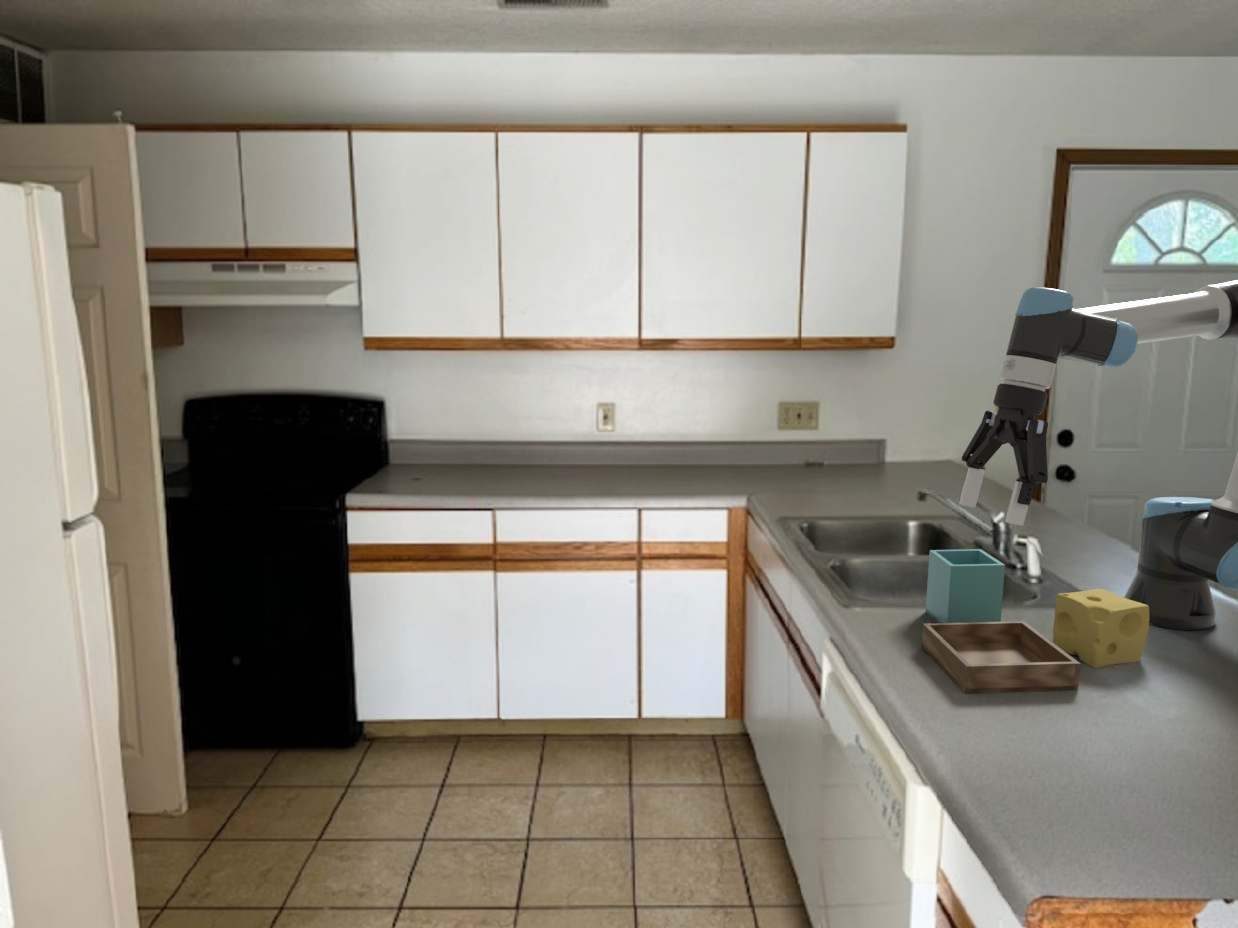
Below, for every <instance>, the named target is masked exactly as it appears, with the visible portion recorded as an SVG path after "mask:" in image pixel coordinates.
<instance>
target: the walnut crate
mask: <svg viewBox="0 0 1238 928" xmlns="http://www.w3.org/2000/svg"><path fill="white" fill-rule="evenodd" d="M921 649H922V650H923V651H924V653H926V654H927V655H928V656H929V657H930V659H932V661H933V662H934V663H936V665H937V666H938V667H939V668H940V669H941V671H943V673H945V674H946V675H947V677H949V678H950V679H951V681H952V682H953V683H954V684H955V685H956V686H957V687H958V688H959V689H960V690H961V691H962V692H963V693H964V694H993V693H997V694H999V693H1026V692H1027V693H1028V692H1029V693H1030V692H1064V691H1065V692H1066V691H1067V692H1068V691H1073V692H1074V691H1078V690H1079V684H1080V683H1079V681H1080V673H1081V662H1079V661H1078V660H1076V659H1075V658H1074V657H1072V656H1071V654H1069V653H1066V652H1064V651H1063V650H1062V649H1060V648H1059V647H1058V646H1056V645H1055V644H1054V643H1053V641H1051V640H1050V639H1048V638H1047V637H1046V636H1044V635H1043V634H1042V633H1041V632H1039V631H1038V630H1036V629H1035V628H1034V627H1032V626H1031V625H1030V624H1029V623H1027V622H1026V621H1025V620H1019V621H1018V620H1017V621H1013V620H1012V621H1001V622H968V623H937V622H934V623H931V622H930V623H922V633H921Z"/></svg>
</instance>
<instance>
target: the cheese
mask: <svg viewBox="0 0 1238 928" xmlns="http://www.w3.org/2000/svg"><path fill="white" fill-rule="evenodd" d="M1053 619H1054V620H1053V627H1052V628H1053V629H1052V643H1054V644H1055V645H1056V646H1058V647H1059V648H1060V649H1062V650H1063V651H1064V652H1066V653H1067V654H1068V655H1073V656H1078V657H1079V660H1080V661H1082V662H1083V663H1085V664H1087V665H1088V666H1089V667H1090V666H1091V668H1095V669H1098V668H1102V667H1107V666H1114V665H1120V664H1129V663H1130V664H1131V663H1137V662H1141V659H1142V656H1143V653H1144V649H1145V646H1146V643H1147V638H1148V634H1149V629H1150V624H1149V606H1148V605H1146V604H1143V603H1139V602H1136V601H1132V600H1129V599H1126V598H1124V597H1123V596H1121V595H1119V594H1115V593H1114V592H1112V591H1108V590H1106V589H1105V588H1095V589H1088V590H1082V591H1081V590H1080V591H1074V592H1063V593H1062V592H1061V593H1057V594H1056V598H1055V609H1054V618H1053Z"/></svg>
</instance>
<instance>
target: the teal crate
mask: <svg viewBox="0 0 1238 928" xmlns="http://www.w3.org/2000/svg"><path fill="white" fill-rule="evenodd" d="M928 556H929V557H928V571H927V583H926V584H927V585H926V586H927V587H926V588H927V589H926V601H925V602H926V604H925V613H926V614H927V615H929V617H930V618H932V619H933V620H934V621H935V623H968V622H1002V621H1001V620H1002V619H1001V618H1002V607H1003V599H1004V598H1003V596H1004V595H1003V594H1004V586H1005V585H1004V584H1005V582H1004V581H1005V571H1006V564H1005V563H1002V562H1001V561H1000V560H999V559H997V558H995V557H994V556H992V555H990V553H988V552H986V551H985V550H983V549H981V548H977V549H975V548H974V549H971V548H970V549H935V550H934V549H930V550H929V555H928Z"/></svg>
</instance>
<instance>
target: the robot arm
mask: <svg viewBox="0 0 1238 928" xmlns="http://www.w3.org/2000/svg"><path fill="white" fill-rule="evenodd" d="M1073 307H1074V296H1073V294H1072V293H1070V292H1067V291H1066V290H1060V289H1056V288H1051V287H1050V288H1049V287H1040V286H1039V287H1029V288H1027V289H1025V290H1024V291H1023V293H1022V295H1021V298H1020V301H1019V303H1018V307H1017V311H1016V312H1015V315H1014V316H1015V317H1014V322H1013V325H1012V330H1011V333H1010V336H1009V337H1010V338H1009V342H1008V346H1007V349H1006V350H1007V351H1006V355H1005V359H1004V361H1003V363H1002V365H1003V366H1002V370H1001V373H1000V377H999V378H1000V380H1002V381H1003V382H1002V383H998V385H997V387H996V390H995V394H994V399H993V405H994V406H996V407H998V411H997V412H996V411H990V410H985V411H984V415H983V417H982V420H981V421H980V424H979V426H978V428H977V430H976V431H975V433H974V435H973V436H972V438H971V440H970V442H969V444H968V445H967V447H966V449H965V450H964V452H963V454H962V456H961V461H962V462H965V464H966V466H967V469H966V474H965V477H964V481H963V486H962V489H961V490H962V491H961V495H960V498H959V502H958V505H960V506H965V507H969V508H974V509H975V508H976V506H977V503H978V500H979V496H980V492H981V487H982V486H983V485H982V484H983V480H984V476H985V472H986V469H987V468H986V464H987V463H988V462H989V461H990V459H991V458H992V457H994V455H995V454H996V453H997V451H998V450H999V449H1000V448H1001V447H1003V445H1005V444H1009V445H1010V446H1011V447H1012V448H1013V453H1014V458H1015V462H1016V467H1017V471H1018V476H1019V477H1018V478H1017V479H1016V480H1015V482H1014V486H1013V491H1012V493H1011V497H1010V501H1009V504H1008V508H1007V512H1006V516H1005V520H1004V523H1007V524H1011V525H1016V526H1022V527H1023V526H1024V523H1025V520H1026V517H1027V512H1028V509H1029V507H1030V504H1031V503H1032V499H1033V495H1034V491H1035V488H1036V486H1038V485H1039V484H1046V483H1047V482H1048V479H1049V477H1048V454H1047V453H1048V450H1047V432H1048V427H1049V423H1048V421H1046V420H1041V419H1036V416H1038V415H1039V416H1040V415H1042V414H1043V413H1044V411H1045V407H1046V402H1047V400H1048V396H1049V395H1048V393H1047V392H1046V389H1047V390H1048V389H1050V388H1051V386H1052V381H1053V379H1054V378H1053V377H1054V374H1055V370H1056V366H1057V363H1058V362H1057V361H1058V359H1060V360H1066V361H1072V362H1081V363H1087V364H1088V363H1089V364H1093V365H1097V366H1098V367H1108V368H1112V369H1113V368H1119V367H1122V366H1123V365H1125V364H1126V363H1128V361H1129V360H1130V359H1131V358H1132V357H1133V355H1134V353H1135V352H1136V348H1137V345H1138V344H1145V343H1146V344H1147V343H1154V342H1160V341H1161V342H1162V341H1167V340H1168V341H1169V340H1174V339H1175V340H1176V339H1183V338H1189V337H1196V336H1197V337H1200V338H1201V339H1204V340H1217V339H1238V279H1236V280H1231V281H1226V282H1220V283H1216V284H1208V285H1204V286H1202V287H1200V288H1198V289H1197V290H1196V291H1195V292H1193V293H1188V294H1186V293H1184V294H1178V295H1172V296H1171V295H1170V296H1164V297H1156V298H1148V299H1142V300H1135V301H1134V300H1133V301H1128V302H1120V303H1112V304H1105V305H1097V306H1090V307H1082V308H1073ZM1139 537H1140V540H1139V545H1138V546H1139V547H1138V548H1139V549H1138V559H1137V560H1138V561H1137V570H1136V573H1135V575H1134V577H1133V579H1132V581H1131V583H1130V585H1129V587H1128V588H1127V591H1126V593H1125V594H1124V598H1126V599H1129V600H1132V601H1136V602H1139V603H1143V604H1146V605H1148V606H1149V625H1153V626H1157V627H1161V628H1167V629H1175V630H1184V631H1187V630H1188V631H1194V630H1195V631H1198V630H1207V629H1209V628H1211V627H1214V626H1215V622H1216V617H1217V612H1216V611H1217V610H1216V606H1215V603H1214V598H1213V595H1212V590H1211V587H1210V582H1209V580H1210V581H1212V582H1215V583H1216V584H1220V586H1222V587H1225V588H1226V589H1229V590H1234V591H1238V452H1237V454H1236V457H1235V460H1234V462H1233V467H1232V470H1231V472H1230V476H1229V479H1228V482H1227V486H1226V489H1225V492H1224V495H1223V496H1222V497H1220V498H1217V499H1215V500H1214V499H1212V498H1211V499H1209V498H1202V497H1189V496H1164V497H1155V498H1151V499H1149V500H1148V501H1147V502H1146V503H1145V504H1144V509H1143V513H1142V517H1141V526H1140V536H1139Z"/></svg>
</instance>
